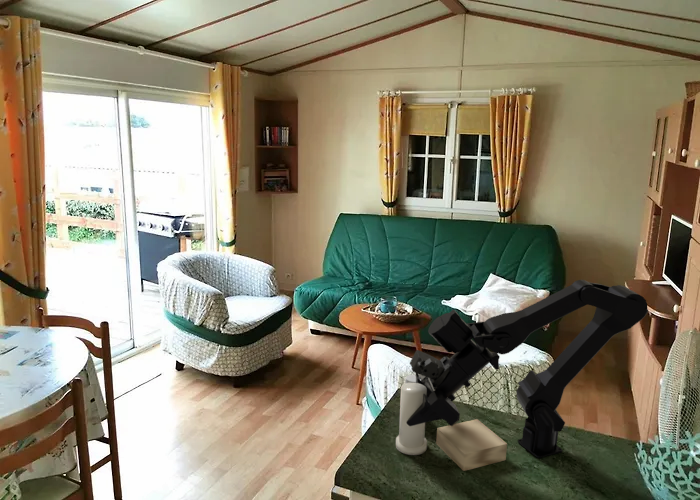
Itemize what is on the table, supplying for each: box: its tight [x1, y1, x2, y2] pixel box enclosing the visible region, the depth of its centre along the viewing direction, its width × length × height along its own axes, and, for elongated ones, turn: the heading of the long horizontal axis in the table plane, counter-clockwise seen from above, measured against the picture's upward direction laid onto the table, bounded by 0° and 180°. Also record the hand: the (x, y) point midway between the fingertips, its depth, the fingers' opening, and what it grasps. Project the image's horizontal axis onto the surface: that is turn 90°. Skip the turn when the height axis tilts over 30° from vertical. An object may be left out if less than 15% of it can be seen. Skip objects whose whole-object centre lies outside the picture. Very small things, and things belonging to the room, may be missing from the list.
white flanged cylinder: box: [395, 383, 428, 456], centre depth 111 cm, size 6×6×13 cm
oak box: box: [435, 418, 508, 472], centre depth 110 cm, size 10×10×4 cm
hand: (405, 417), depth 111 cm, fingers closed on white flanged cylinder, 5 cm apart
